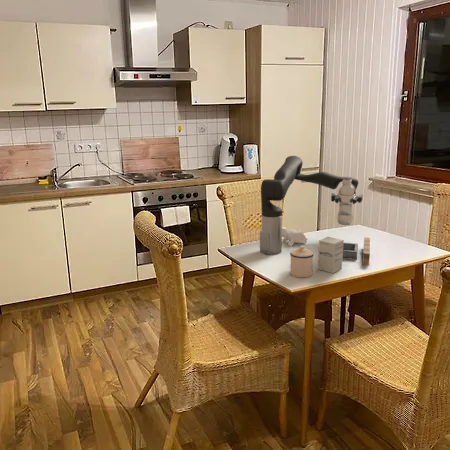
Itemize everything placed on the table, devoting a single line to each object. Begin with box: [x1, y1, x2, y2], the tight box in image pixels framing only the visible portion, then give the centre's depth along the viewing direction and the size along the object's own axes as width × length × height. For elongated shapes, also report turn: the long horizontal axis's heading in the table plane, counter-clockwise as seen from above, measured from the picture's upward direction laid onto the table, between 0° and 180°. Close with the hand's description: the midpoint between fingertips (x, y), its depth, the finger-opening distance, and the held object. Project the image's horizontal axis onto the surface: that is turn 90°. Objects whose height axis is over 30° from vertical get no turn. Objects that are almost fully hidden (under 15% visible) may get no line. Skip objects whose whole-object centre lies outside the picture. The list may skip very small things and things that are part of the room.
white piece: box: [282, 226, 308, 247], centre depth 219 cm, size 9×8×15 cm
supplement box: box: [317, 236, 345, 274], centre depth 182 cm, size 7×7×13 cm
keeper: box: [342, 242, 359, 260], centre depth 202 cm, size 12×12×4 cm
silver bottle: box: [336, 179, 354, 226], centre depth 196 cm, size 6×7×20 cm
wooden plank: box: [362, 236, 371, 266], centre depth 199 cm, size 24×2×5 cm, turn 163°
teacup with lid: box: [289, 245, 314, 279], centre depth 179 cm, size 12×9×12 cm
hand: (345, 201), depth 194 cm, fingers closed on silver bottle, 6 cm apart
